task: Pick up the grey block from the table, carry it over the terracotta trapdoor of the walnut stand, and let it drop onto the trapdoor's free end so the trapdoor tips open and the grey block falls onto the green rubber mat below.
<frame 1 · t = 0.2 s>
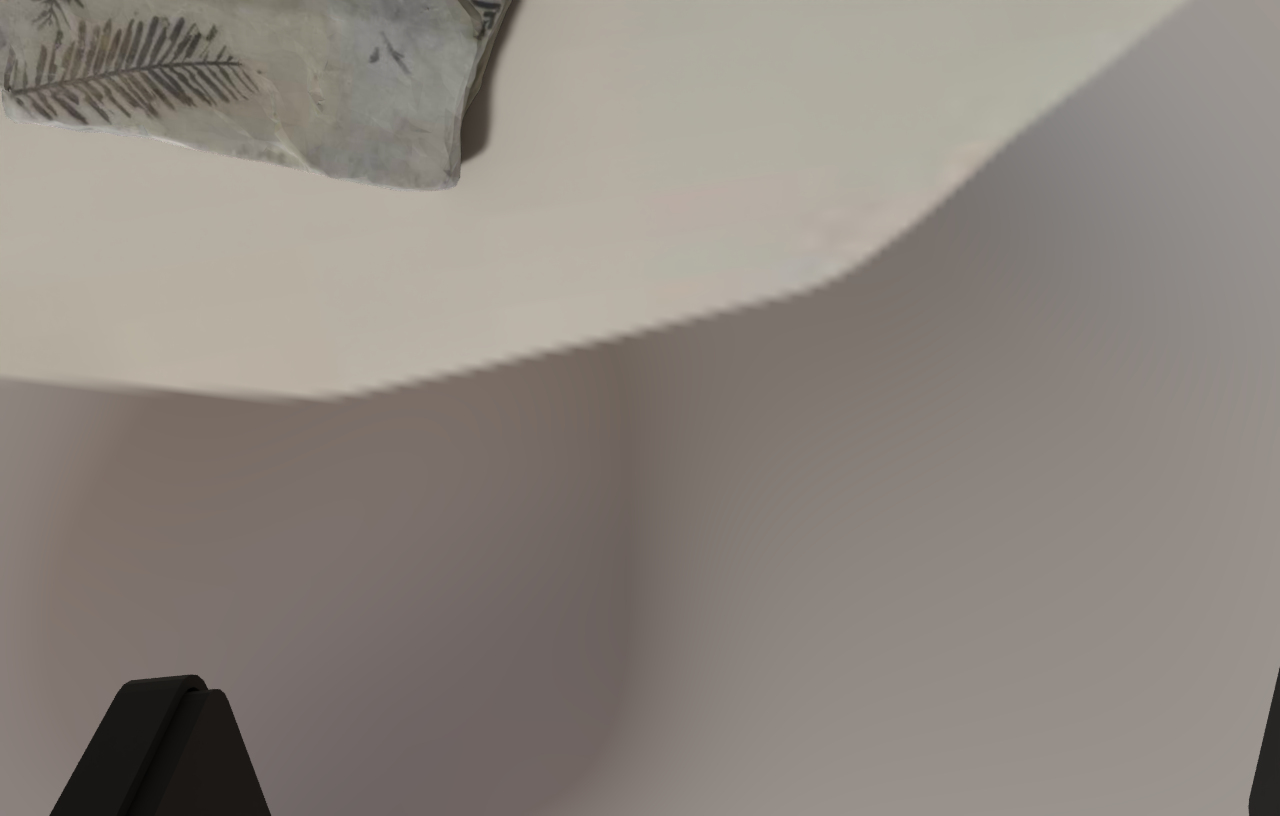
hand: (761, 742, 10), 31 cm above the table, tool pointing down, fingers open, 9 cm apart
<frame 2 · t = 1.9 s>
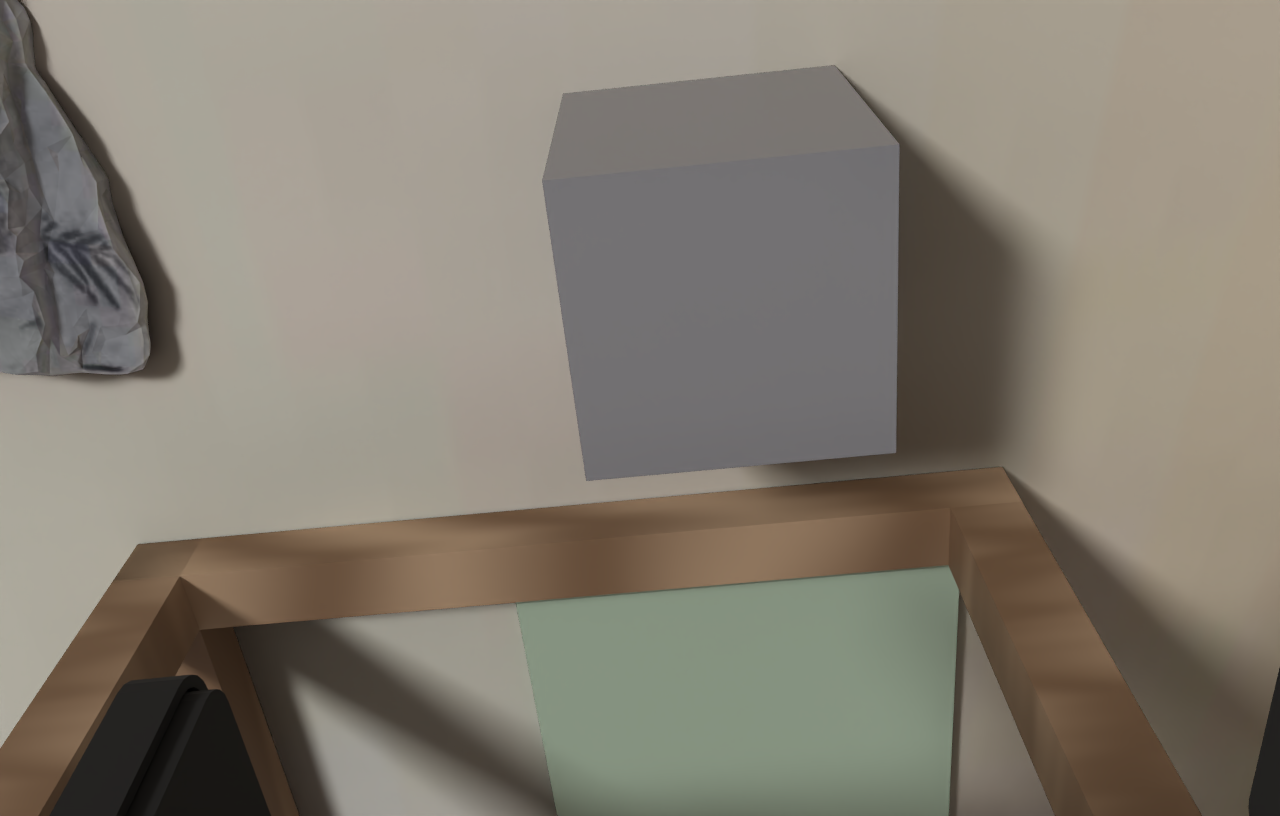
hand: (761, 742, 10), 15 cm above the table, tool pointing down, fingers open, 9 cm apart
stand: (494, 756, 30), on the table
grey block: (707, 209, 23), on the table
mat: (746, 736, 30), on the table
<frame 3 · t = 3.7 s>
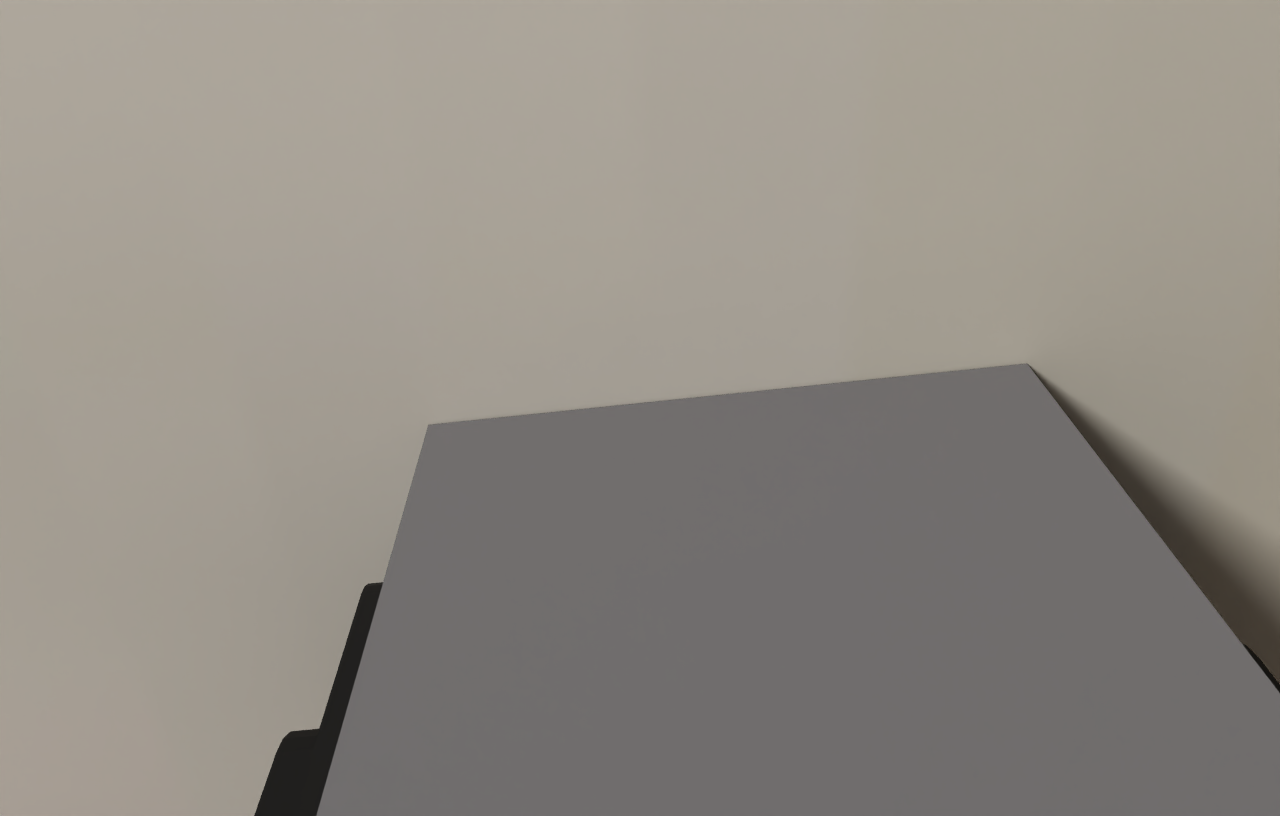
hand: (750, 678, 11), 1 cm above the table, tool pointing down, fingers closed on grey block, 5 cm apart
grey block: (742, 628, 11), on the table, touching gripper
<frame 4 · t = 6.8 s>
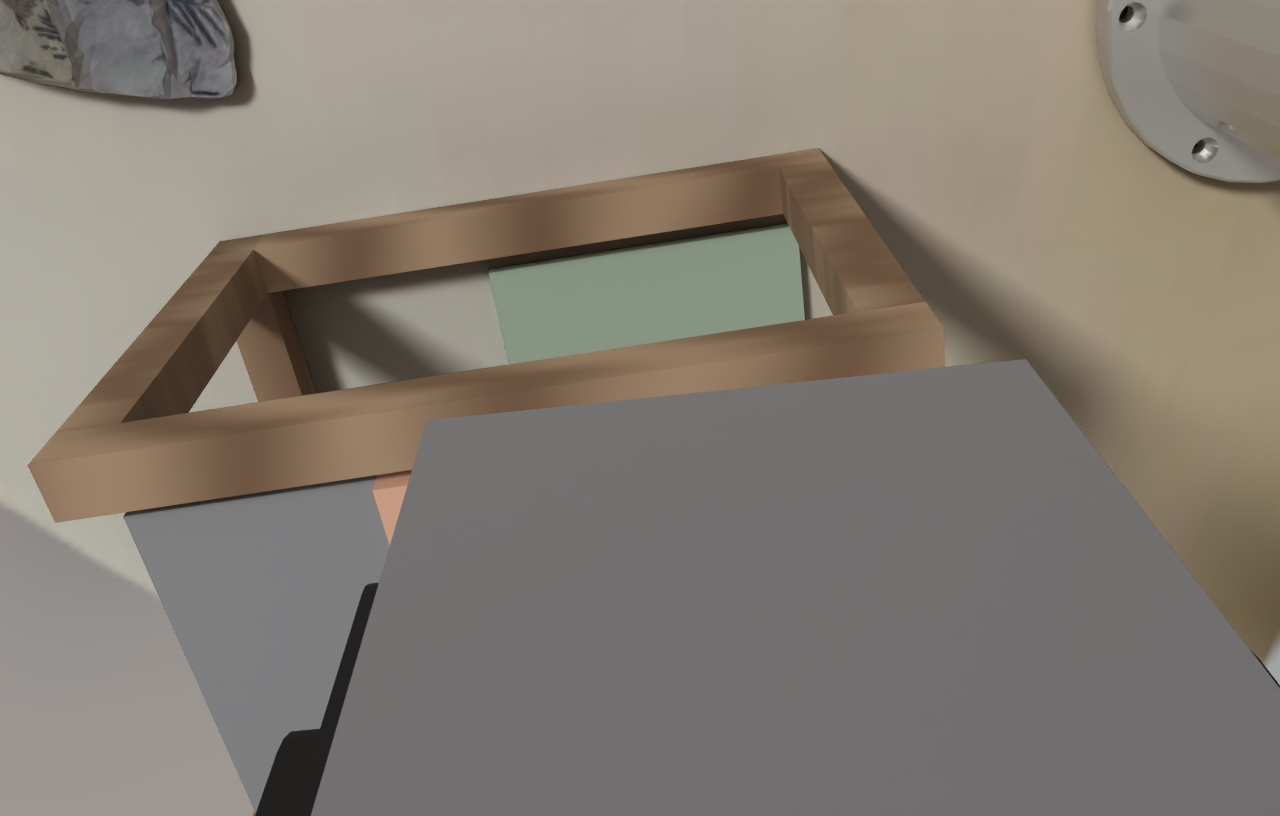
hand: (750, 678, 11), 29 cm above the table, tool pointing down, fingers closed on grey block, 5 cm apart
stand: (480, 409, 42), on the table
grey block: (741, 624, 11), point 28 cm above the table, touching gripper
mat: (662, 381, 42), on the table
trapdoor: (544, 611, 31), point 13 cm above the table, hinge at 0.0°
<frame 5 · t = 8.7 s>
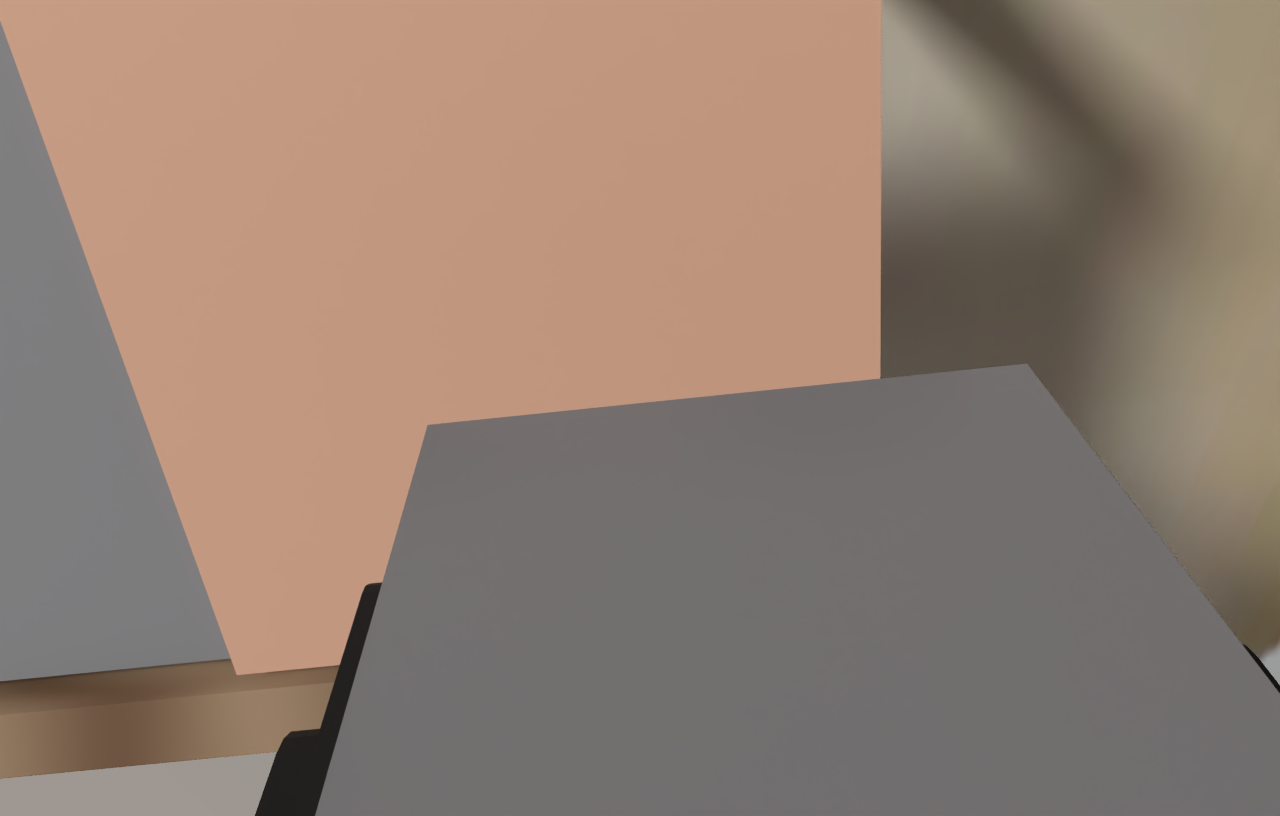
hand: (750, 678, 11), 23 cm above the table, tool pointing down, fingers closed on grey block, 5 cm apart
stand: (334, 144, 31), on the table
grey block: (742, 628, 11), point 22 cm above the table, touching gripper
trapdoor: (341, 316, 20), point 13 cm above the table, hinge at 0.0°
when the fingers open (18 cm above the table, at t = 10.0 s): grey block drops 14 cm and tips over, resting on mat.
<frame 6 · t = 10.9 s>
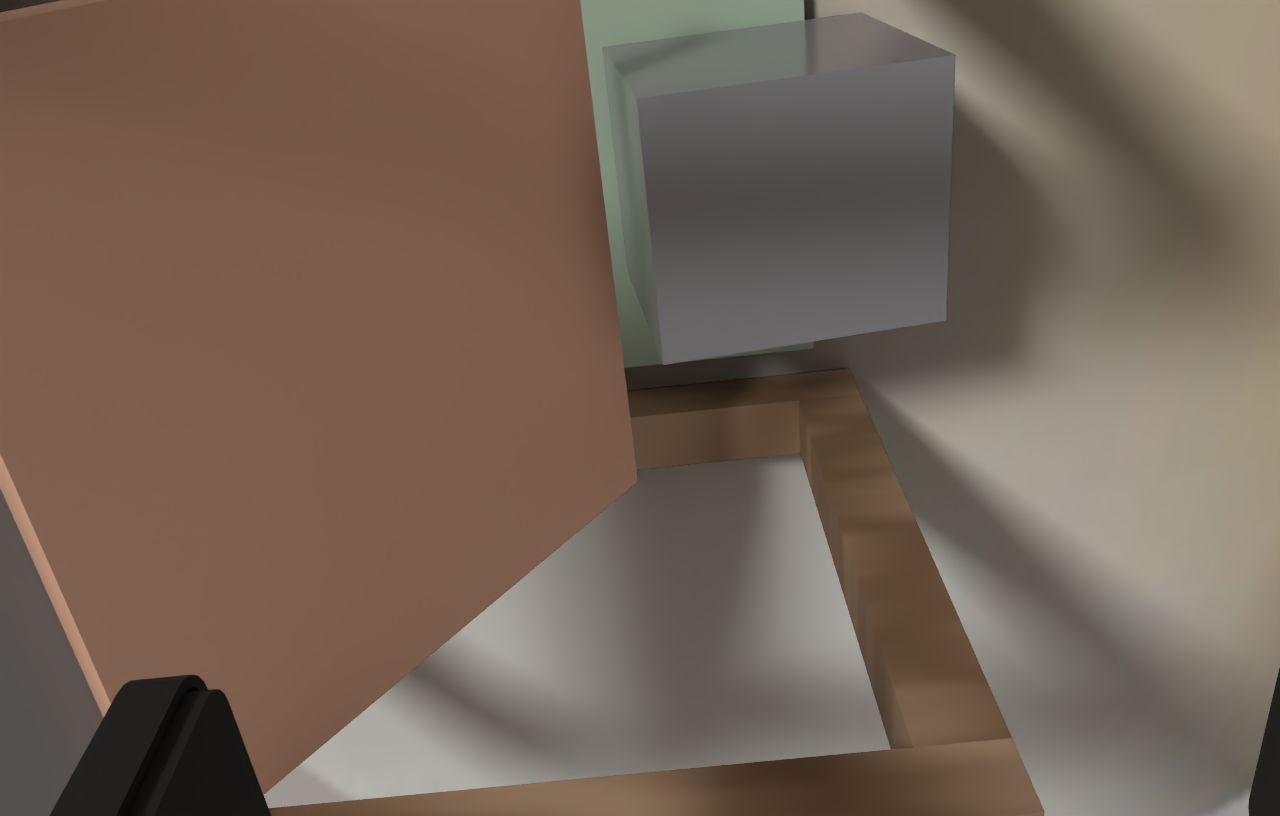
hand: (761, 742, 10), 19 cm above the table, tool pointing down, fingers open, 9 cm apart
stand: (296, 192, 27), on the table
grey block: (631, 198, 24), point 4 cm above the table, tilted 97°, touching mat
mat: (579, 161, 27), on the table
trapdoor: (143, 406, 17), point 11 cm above the table, hinge at -52.7°
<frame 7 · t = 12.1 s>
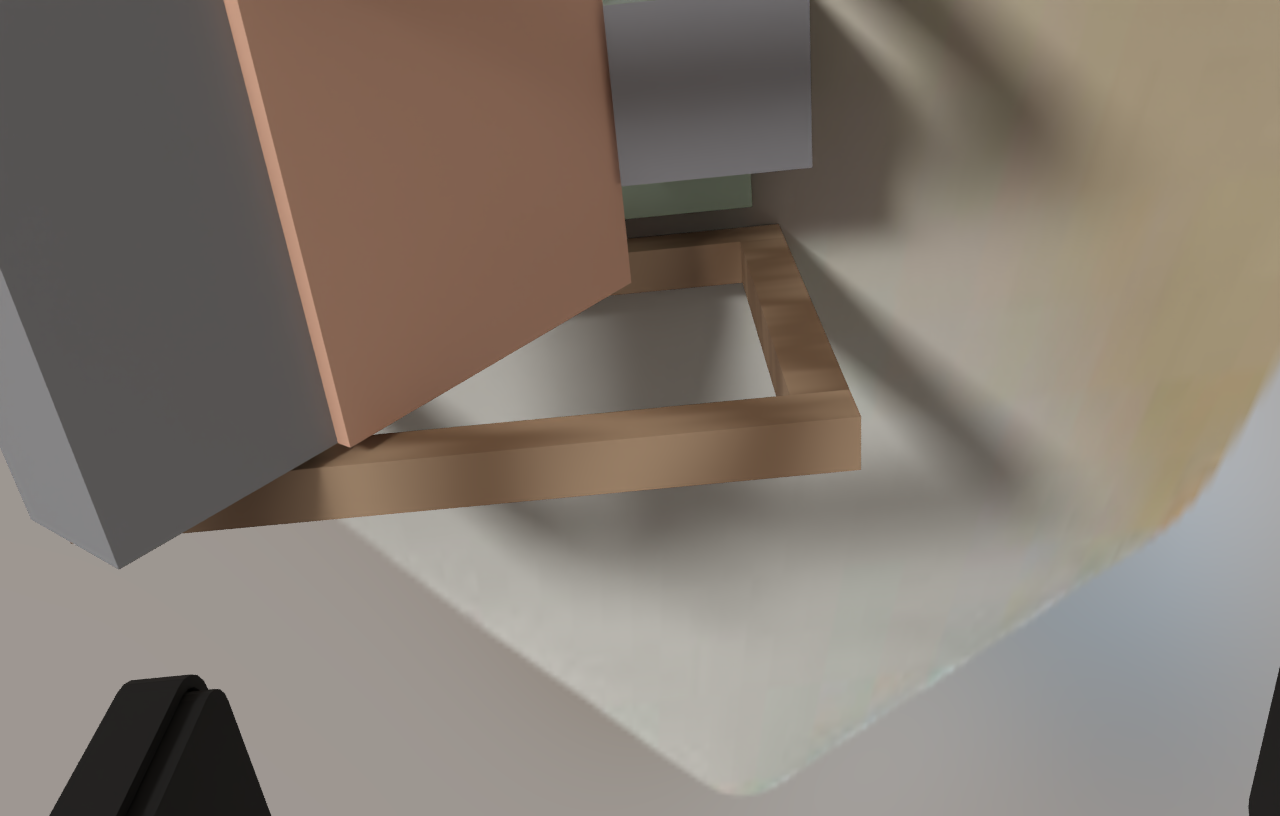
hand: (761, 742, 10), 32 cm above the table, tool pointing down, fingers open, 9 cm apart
stand: (387, 86, 38), on the table
grey block: (611, 80, 36), point 3 cm above the table, tilted 90°, touching mat, trapdoor
mat: (586, 66, 38), on the table
trapdoor: (330, 178, 29), point 11 cm above the table, hinge at -51.5°, touching grey block
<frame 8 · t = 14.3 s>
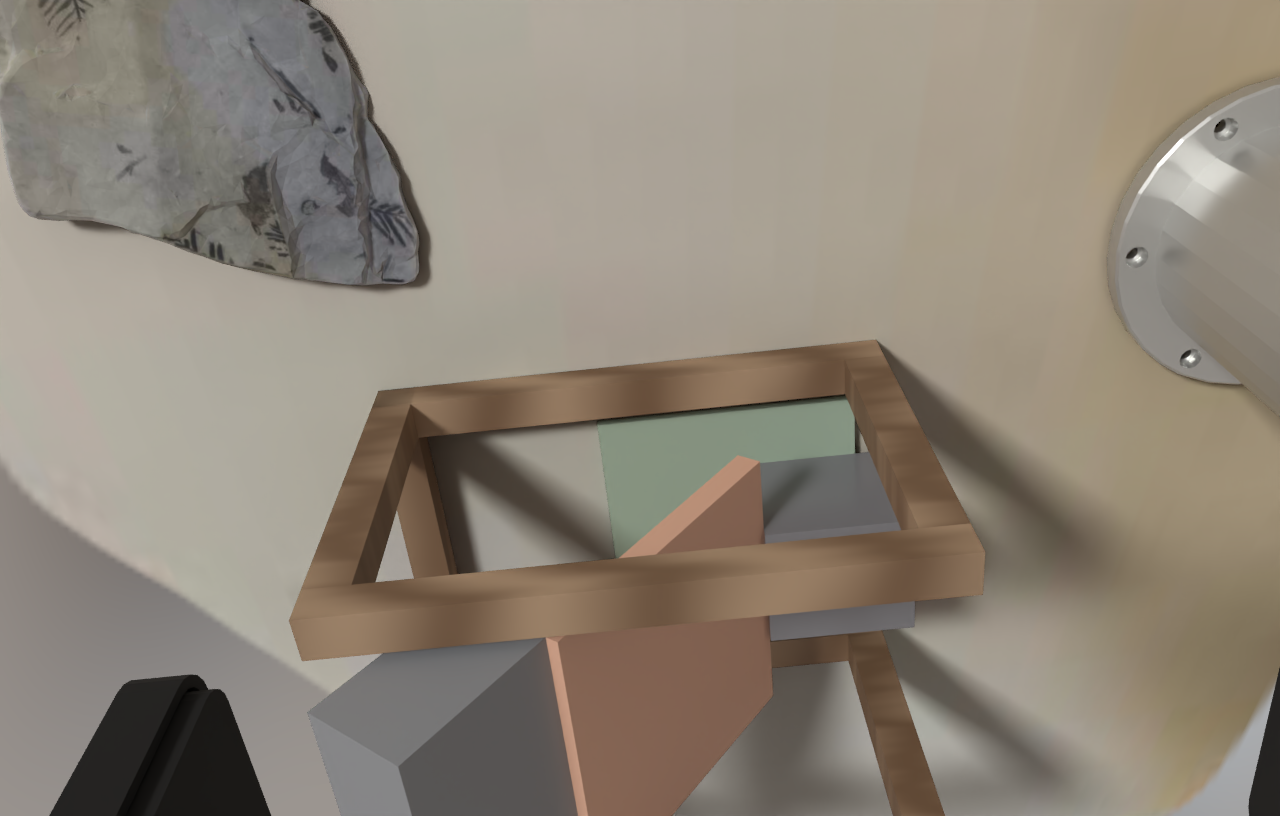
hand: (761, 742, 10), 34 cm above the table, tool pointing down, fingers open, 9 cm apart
stand: (579, 529, 50), on the table
grey block: (759, 550, 47), point 3 cm above the table, tilted 90°, touching mat, trapdoor
mat: (732, 513, 50), on the table
trapdoor: (584, 702, 40), point 11 cm above the table, hinge at -51.5°, touching grey block
fossil rock: (211, 31, 40), on the table
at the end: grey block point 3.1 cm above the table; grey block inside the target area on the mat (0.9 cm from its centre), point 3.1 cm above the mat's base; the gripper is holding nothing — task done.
